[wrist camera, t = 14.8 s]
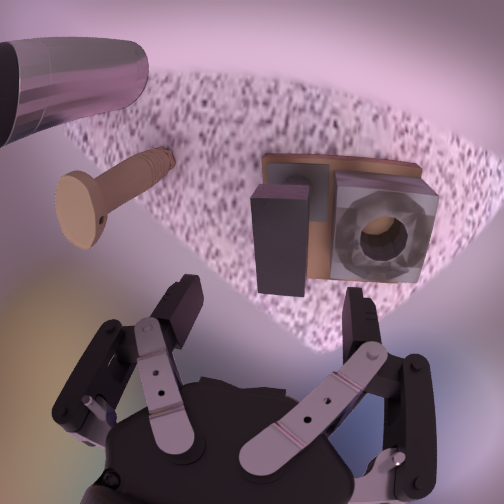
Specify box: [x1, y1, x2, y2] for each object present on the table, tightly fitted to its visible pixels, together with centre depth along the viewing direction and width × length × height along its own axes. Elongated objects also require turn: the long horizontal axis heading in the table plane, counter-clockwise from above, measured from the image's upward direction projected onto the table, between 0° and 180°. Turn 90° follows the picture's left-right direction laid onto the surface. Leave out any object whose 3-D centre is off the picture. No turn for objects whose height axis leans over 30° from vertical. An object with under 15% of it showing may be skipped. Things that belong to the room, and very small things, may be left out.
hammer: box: [250, 175, 312, 297], centre depth 21 cm, size 7×3×11 cm, turn 4°
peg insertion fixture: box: [262, 154, 439, 283], centre depth 26 cm, size 16×14×7 cm
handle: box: [55, 147, 175, 249], centre depth 24 cm, size 5×6×15 cm
